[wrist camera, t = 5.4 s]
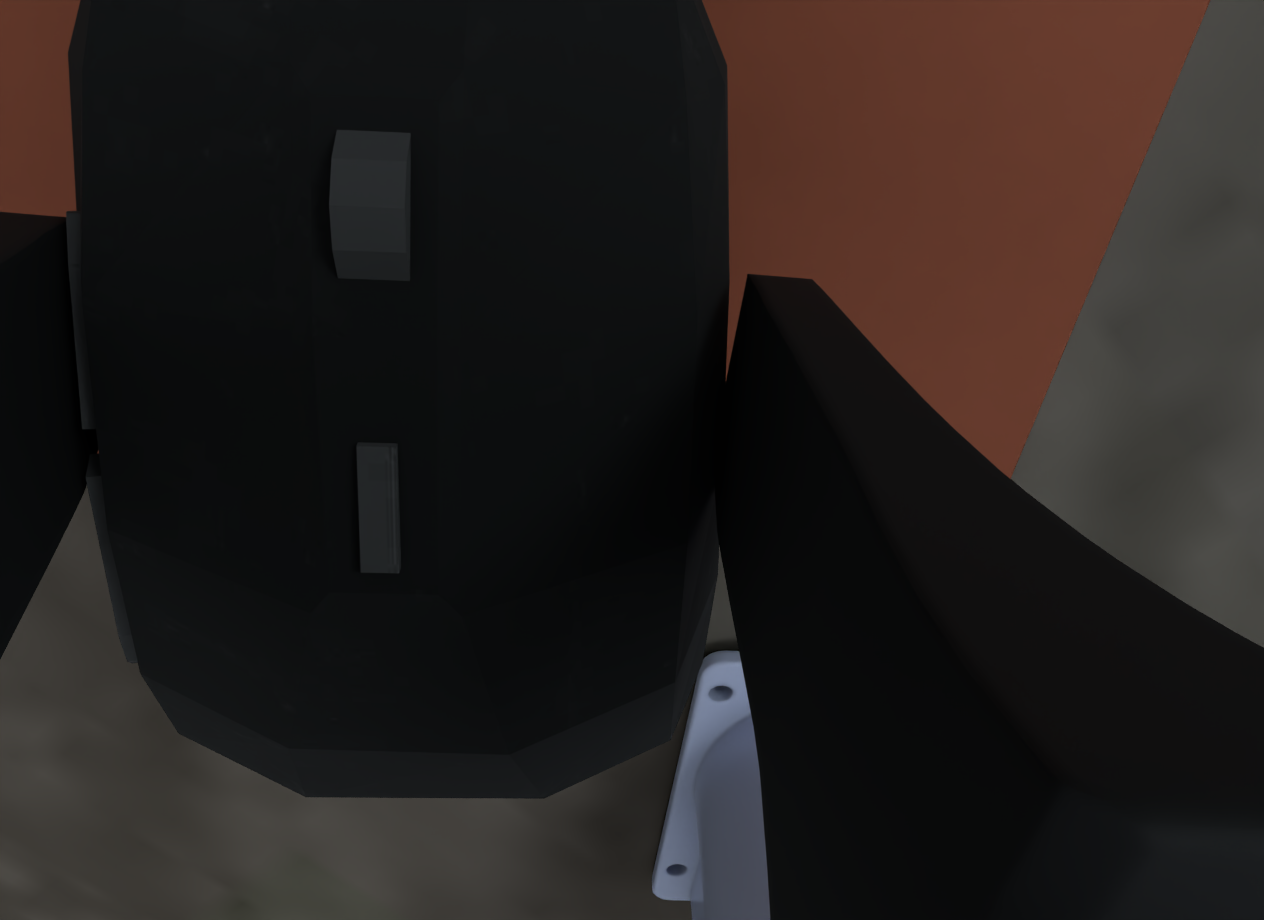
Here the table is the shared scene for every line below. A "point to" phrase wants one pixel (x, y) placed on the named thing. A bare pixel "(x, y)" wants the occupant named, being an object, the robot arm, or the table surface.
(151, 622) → the gaming mouse
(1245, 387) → the table surface
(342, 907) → the table surface
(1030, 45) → the mouse mat
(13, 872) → the table surface
